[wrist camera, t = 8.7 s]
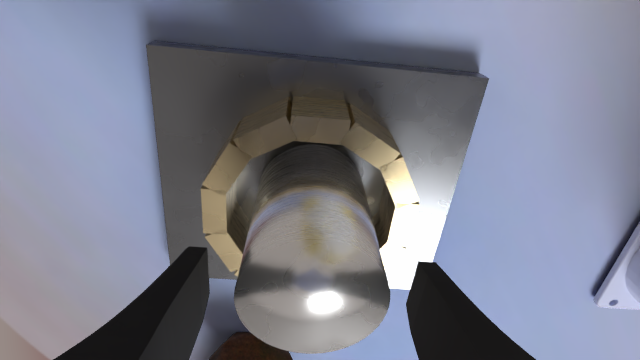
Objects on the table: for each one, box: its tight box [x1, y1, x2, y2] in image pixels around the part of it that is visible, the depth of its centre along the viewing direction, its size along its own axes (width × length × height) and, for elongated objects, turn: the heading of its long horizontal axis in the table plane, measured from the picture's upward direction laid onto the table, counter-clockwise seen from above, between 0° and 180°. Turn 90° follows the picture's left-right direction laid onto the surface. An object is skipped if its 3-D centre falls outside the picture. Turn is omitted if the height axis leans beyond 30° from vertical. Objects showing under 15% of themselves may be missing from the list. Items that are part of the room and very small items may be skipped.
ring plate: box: [146, 41, 489, 290], centre depth 18 cm, size 14×12×4 cm
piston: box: [234, 144, 390, 354], centre depth 15 cm, size 5×5×7 cm
